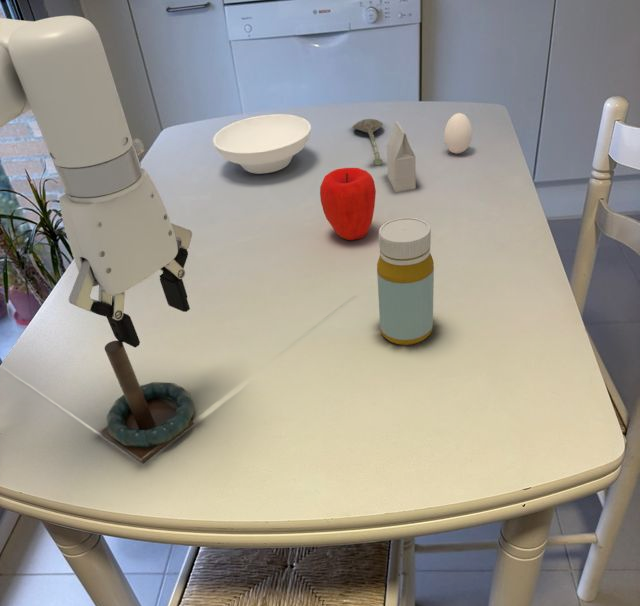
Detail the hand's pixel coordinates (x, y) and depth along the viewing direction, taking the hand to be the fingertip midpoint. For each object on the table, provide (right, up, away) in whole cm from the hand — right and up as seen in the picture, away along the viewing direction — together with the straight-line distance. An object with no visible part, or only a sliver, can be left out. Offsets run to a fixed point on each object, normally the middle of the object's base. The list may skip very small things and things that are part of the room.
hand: (154, 323), depth 74 cm
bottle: (+31, +1, +14) cm, 34 cm away
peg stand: (-2, -12, +5) cm, 13 cm away
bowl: (+8, +41, +58) cm, 72 cm away
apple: (+24, +20, +34) cm, 46 cm away
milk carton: (+34, +33, +46) cm, 66 cm away
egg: (+46, +42, +53) cm, 82 cm away
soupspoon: (+30, +47, +61) cm, 82 cm away
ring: (-2, -10, +5) cm, 11 cm away
